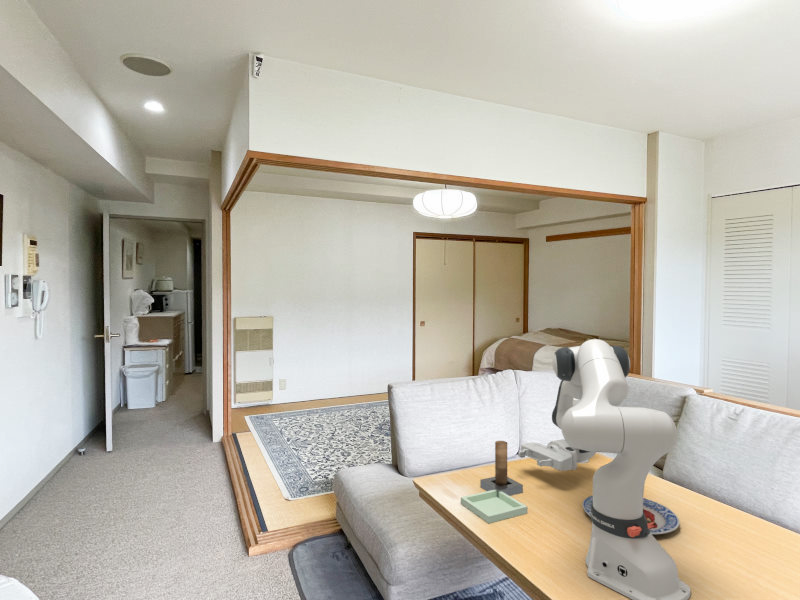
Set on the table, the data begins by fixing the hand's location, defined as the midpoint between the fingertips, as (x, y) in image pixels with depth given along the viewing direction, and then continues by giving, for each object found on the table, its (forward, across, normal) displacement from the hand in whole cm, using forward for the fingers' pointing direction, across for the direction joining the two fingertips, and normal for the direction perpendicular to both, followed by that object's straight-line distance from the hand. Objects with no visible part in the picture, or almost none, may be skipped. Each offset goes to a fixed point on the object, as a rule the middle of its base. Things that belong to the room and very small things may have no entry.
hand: (528, 459), depth 162 cm
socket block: (+12, 0, +9) cm, 15 cm away
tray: (+23, +10, +9) cm, 27 cm away
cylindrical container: (-35, -10, +9) cm, 38 cm away
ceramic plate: (-10, +32, +10) cm, 35 cm away
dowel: (+12, 0, +8) cm, 15 cm away
